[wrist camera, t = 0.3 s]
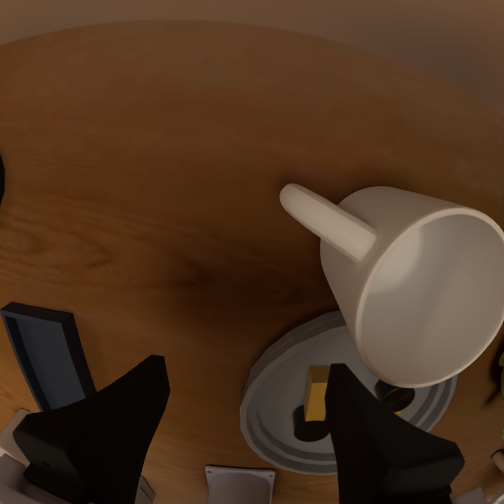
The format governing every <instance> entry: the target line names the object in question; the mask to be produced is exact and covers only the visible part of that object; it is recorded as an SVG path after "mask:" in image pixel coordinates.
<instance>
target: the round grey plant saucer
mask: <svg viewBox="0 0 504 504" xmlns="http://www.w3.org/2000/svg"><path fill="white" fill-rule="evenodd" d="M331 363H345V364H346V365H347V366H348V367H349V368H350V370H351V371H352V372H353V373H354V374H355V376H356V377H357V378H358V379H359V380H360V381H361V382H362V383H363V385H364V386H365V387H366V388H367V389H368V390H369V391H370V392H371V393H372V394H373V395H374V396H375V397H376V398H377V396H376V393H375V386H376V384H377V382H378V381H379V380H380V379H379V378H377V377H376V376H375V375H374V374H373V373H371V372H370V371H369V369H368V368H367V367H366V366H365V364H364V363H363V361H362V359H361V357H360V355H359V353H358V350H357V348H356V345H355V343H354V340H353V338H352V336H351V333H350V331H349V329H348V326H347V324H346V322H345V319H344V317H343V315H342V312H341V310H338V311H334V312H330V313H326V314H323V315H321V316H319V317H317V318H315V319H313V320H310V321H308V322H306V323H304V324H302V325H300V326H298V327H296V328H294V329H292V330H291V331H289V332H288V333H287V334H285V335H284V336H283V337H281V338H280V339H279V340H278V341H276V342H275V343H274V344H272V345H271V346H270V347H268V348H267V349H266V350H265V352H264V353H263V354H262V355H261V357H260V358H259V359H258V361H257V362H256V363H255V364H254V366H253V367H252V368H251V369H250V372H249V374H248V377H247V380H246V382H245V385H244V388H243V390H242V396H241V404H240V429H241V431H242V434H243V436H244V438H245V440H246V442H247V444H248V446H249V447H250V448H251V449H252V450H253V451H254V452H255V453H256V454H257V455H258V456H259V457H260V458H262V459H263V460H265V461H267V462H268V463H270V464H272V465H274V466H276V467H278V468H280V469H283V470H287V471H291V472H294V473H298V474H305V475H317V476H328V475H338V473H337V463H336V457H335V452H334V448H333V444H332V440H331V435H330V433H329V434H328V435H327V436H326V437H325V438H323V439H321V440H319V441H315V442H303V441H300V440H298V439H297V438H296V437H295V436H294V431H293V413H294V411H295V410H296V409H297V408H298V407H299V406H301V405H303V404H304V398H305V392H306V385H307V378H308V372H309V366H329V369H330V366H331ZM457 377H458V374H456V375H454V376H453V377H451V378H449V379H447V380H444V381H442V382H440V383H437V384H434V385H430V386H426V387H419V388H414V390H415V398H414V400H413V401H412V403H411V404H410V405H409V406H408V407H406V408H405V409H403V410H401V413H400V416H399V417H401V418H402V419H404V420H406V421H407V422H409V423H411V424H412V425H414V426H416V427H418V428H420V429H421V430H423V431H426V432H430V431H431V430H432V428H433V427H434V426H435V425H436V423H437V422H438V421H439V420H440V418H441V417H442V416H443V415H444V413H445V411H446V409H447V407H448V405H449V403H450V401H451V399H452V397H453V395H454V392H455V387H456V382H457Z"/></svg>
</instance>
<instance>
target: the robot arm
mask: <svg viewBox="0 0 504 504" xmlns="http://www.w3.org/2000/svg"><path fill="white" fill-rule="evenodd" d="M169 394H170V386H169V381H168V376H167V370H166V365H165V359H164V356H157V355H150V356H149V357H148V358H146V359H145V360H144V361H142V362H141V363H140V364H138V365H137V366H136V367H134V368H133V369H132V370H130V371H129V372H128V373H126V374H125V375H124V376H122V377H121V378H119V379H118V380H116V381H115V382H113V383H112V384H110V385H109V386H107V387H106V388H104V389H102V390H100V391H99V392H97V393H95V394H93V395H91V396H89V397H87V398H85V399H82V400H80V401H77V402H75V403H72V404H70V405H67V406H63V407H60V408H57V409H53V410H49V411H44V412H38V413H32V414H27V415H26V416H25V417H24V418H23V419H22V421H21V422H20V423H19V424H18V426H17V427H16V428H15V429H14V431H13V434H12V435H13V438H14V441H15V442H16V444H17V446H18V447H19V449H20V450H21V451H22V453H23V454H24V456H25V457H26V458H27V460H28V461H29V462H30V464H29V466H28V467H26V466H25V465H24V464H22V463H21V462H19V461H18V460H16V459H14V458H13V457H11V456H9V455H8V454H6V453H4V454H3V456H2V457H1V458H0V504H135V499H136V494H137V489H138V484H139V480H140V476H141V472H142V468H143V464H144V460H145V457H146V453H147V451H148V448H149V445H150V443H151V441H152V438H153V436H154V434H155V431H156V429H157V427H158V425H159V422H160V420H161V418H162V415H163V413H164V411H165V408H166V405H167V401H168V397H169ZM324 399H325V410H326V418H327V422H328V427H329V431H330V435H331V440H332V444H333V448H334V452H335V457H336V463H337V473H338V485H339V504H488V503H487V501H486V499H485V496H484V494H483V492H482V490H481V488H480V487H478V488H476V489H473V490H471V491H469V492H466V493H464V494H461V495H459V496H457V497H455V498H453V499H452V500H451V499H450V497H449V494H450V493H451V492H452V490H451V487H450V483H451V482H452V481H453V480H454V479H455V477H456V476H457V475H458V474H459V473H460V471H461V470H462V468H463V466H464V463H465V460H464V458H463V456H462V454H461V452H460V450H459V448H458V446H457V445H456V443H455V442H452V441H449V440H446V439H443V438H440V437H437V436H435V435H432V434H430V433H428V432H426V431H423V430H421V429H420V428H418V427H416V426H414V425H412V424H411V423H409V422H407V421H406V420H404V419H402V418H401V417H399V416H398V415H397V414H395V413H394V412H393V411H391V410H390V409H389V408H387V407H386V406H385V405H384V404H383V403H382V402H380V401H379V400H378V399H377V398H376V397H375V396H374V395H373V394H372V393H371V392H370V391H369V390H368V389H367V388H366V387H365V386H364V385H363V383H362V382H361V381H360V380H359V379H358V378H357V377H356V376H355V374H354V373H353V372H352V371H351V370H350V368H349V367H348V366H347V365H346V364H345V363H331V366H330V371H329V377H328V382H327V387H326V392H325V397H324ZM205 473H206V478H207V482H208V487H209V493H208V498H207V503H206V504H270V503H271V499H272V493H273V486H274V479H275V471H274V470H261V469H241V468H228V467H218V466H205Z"/></svg>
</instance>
